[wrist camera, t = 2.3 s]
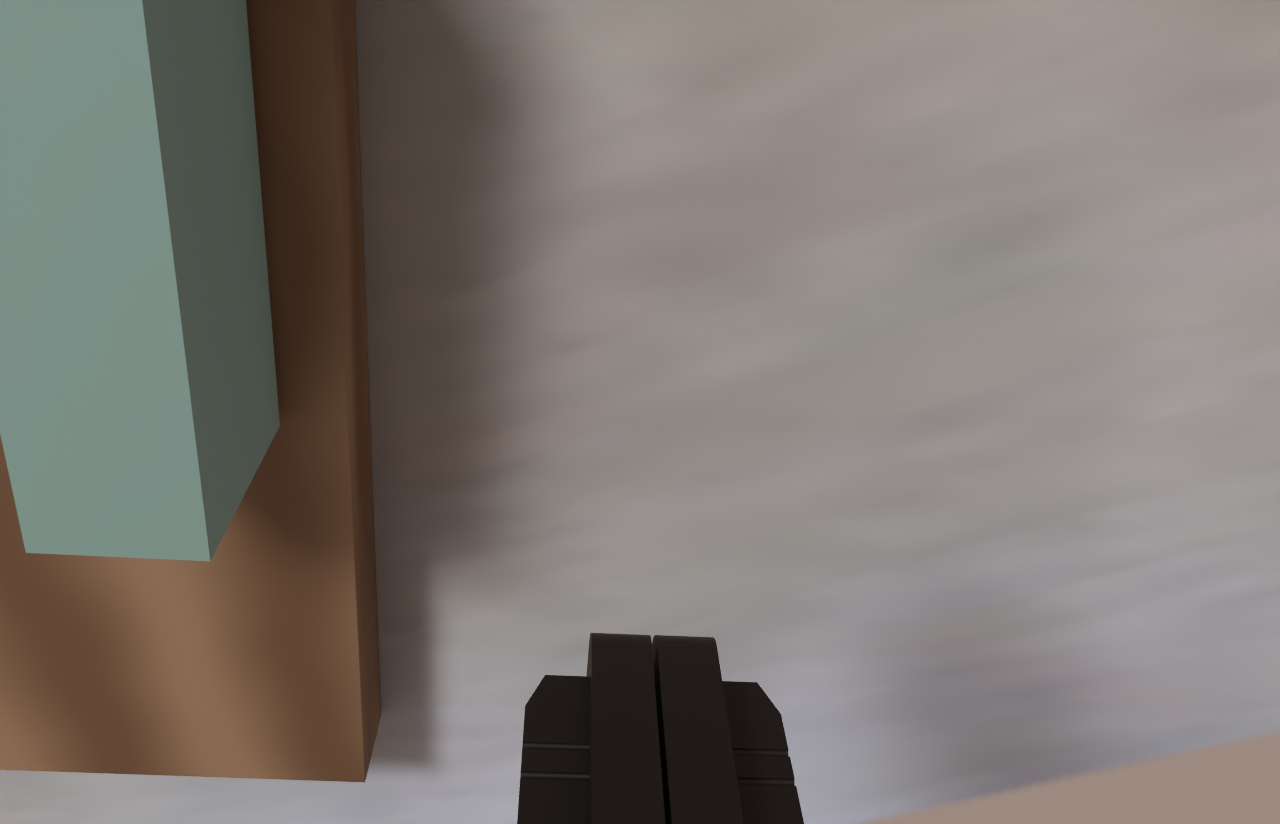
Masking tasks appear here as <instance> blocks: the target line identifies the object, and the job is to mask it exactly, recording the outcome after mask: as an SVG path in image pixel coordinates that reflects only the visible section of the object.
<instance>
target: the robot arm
mask: <svg viewBox="0 0 1280 824" xmlns="http://www.w3.org/2000/svg"><path fill="white" fill-rule="evenodd" d="M517 824H804V822H803V817H802V812H801V807H800V803H799V798H798V793H797V788H796V786H794V774H793V769H792V765H791V760H790V757H788V746H787V741H786V736H785V732H784V727H783V722H782V717H781V714H780V712H779V711H778V710H777V708H776V707H775V706H774V704H773V703H772V702H771V700H770V699H769V698H768V696H767V695H766V694H765V692H764V691H763V690H762V688H761V687H760V686H759V684H758V683H757V682H729V681H722V677H721V671H720V664H719V658H718V651H717V645H716V641H715V639H714V638H713V637H688V636H662V635H655V636H654V638H653V642H651V637H650V635H630V634H604V633H591V634H590V641H589V653H588V665H587V677H583V676H556V675H545V676H544V678H543V679H542V681H541V682H540V684H539V686H538V687H537V689H536V690H535V692H534V693H533V695H532V696H531V698H530V699H529V701H528V702H527V704H526V706H525V719H524V733H523V749H522V763H521V778H520V792H519V807H518V822H517Z"/></svg>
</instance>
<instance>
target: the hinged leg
mask: <svg viewBox="0 0 1280 824" xmlns="http://www.w3.org/2000/svg"><path fill="white" fill-rule="evenodd" d="M279 426H280V420H279V407H278V395H277V382H276V370H275V357H274V345H273V332H272V320H271V307H270V295H269V282H268V270H267V257H266V245H265V232H264V220H263V207H262V195H261V182H260V170H259V157H258V145H257V132H256V120H255V107H254V95H253V82H252V70H251V57H250V45H249V33H248V20H247V8H246V0H0V435H1V440H2V445H3V449H4V454H5V458H6V463H7V468H8V472H9V477H10V482H11V486H12V491H13V496H14V500H15V505H16V510H17V514H18V519H19V524H20V528H21V533H22V537H23V542H24V547H25V551H26V553H40V554H61V555H83V556H104V557H126V558H147V559H168V560H190V561H211V559H212V557H213V555H214V553H215V551H216V549H217V547H218V545H219V544H220V542H221V540H222V538H223V536H224V534H225V532H226V530H227V528H228V526H229V524H230V522H231V520H232V518H233V516H234V514H235V512H236V510H237V508H238V506H239V505H240V503H241V501H242V499H243V497H244V495H245V493H246V491H247V489H248V487H249V485H250V483H251V481H252V479H253V477H254V475H255V473H256V471H257V469H258V467H259V465H260V464H261V462H262V460H263V458H264V456H265V454H266V452H267V450H268V448H269V446H270V444H271V442H272V440H273V438H274V436H275V434H276V432H277V430H278V428H279Z"/></svg>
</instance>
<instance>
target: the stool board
mask: <svg viewBox="0 0 1280 824" xmlns="http://www.w3.org/2000/svg"><path fill="white" fill-rule="evenodd" d="M246 8H247V20H248V33H249V45H250V57H251V70H252V82H253V95H254V107H255V120H256V132H257V145H258V157H259V170H260V182H261V195H262V207H263V220H264V232H265V245H266V257H267V270H268V282H269V295H270V307H271V320H272V332H273V345H274V357H275V370H276V382H277V395H278V407H279V420H280V426H279V428H278V430H277V432H276V434H275V436H274V438H273V440H272V442H271V444H270V446H269V448H268V450H267V452H266V454H265V456H264V458H263V460H262V462H261V464H260V465H259V467H258V469H257V471H256V473H255V475H254V477H253V479H252V481H251V483H250V485H249V487H248V489H247V491H246V493H245V495H244V497H243V499H242V501H241V503H240V505H239V506H238V508H237V510H236V512H235V514H234V516H233V518H232V520H231V522H230V524H229V526H228V528H227V530H226V532H225V534H224V536H223V538H222V540H221V542H220V544H219V545H218V547H217V549H216V551H215V553H214V555H213V557H212V559H211V561H190V560H168V559H147V558H126V557H104V556H83V555H61V554H40V553H26V551H25V547H24V542H23V537H22V533H21V528H20V524H19V519H18V514H17V510H16V505H15V500H14V496H13V491H12V486H11V482H10V477H9V472H8V468H7V463H6V458H5V454H4V449H3V445H2V440H1V435H0V770H28V771H57V772H86V773H115V774H144V775H173V776H202V777H231V778H260V779H289V780H318V781H347V782H365V780H366V775H367V771H368V767H369V763H370V759H371V755H372V750H373V746H374V742H375V738H376V734H377V729H378V725H379V721H380V717H381V706H380V678H379V651H378V624H377V597H376V570H375V543H374V515H373V488H372V461H371V434H370V407H369V380H368V352H367V325H366V298H365V271H364V244H363V217H362V189H361V162H360V135H359V108H358V81H357V54H356V26H355V0H246Z"/></svg>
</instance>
